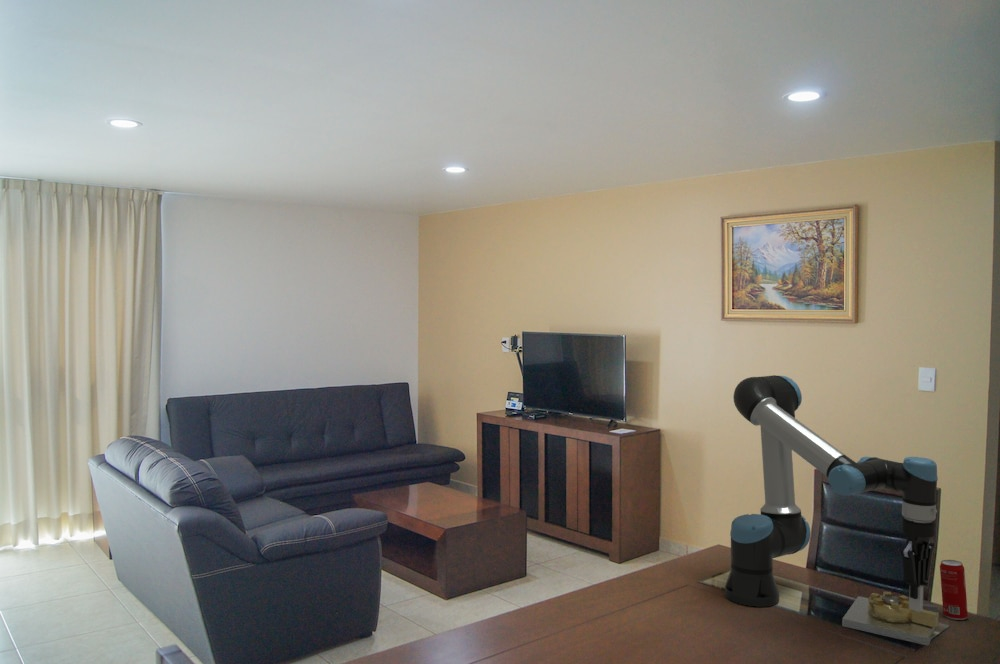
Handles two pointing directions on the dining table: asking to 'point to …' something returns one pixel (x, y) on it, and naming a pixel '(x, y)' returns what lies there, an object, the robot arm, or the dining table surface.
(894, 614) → the gold knob with handle
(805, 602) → the dining table surface
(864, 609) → the flange plate
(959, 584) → the beverage can
